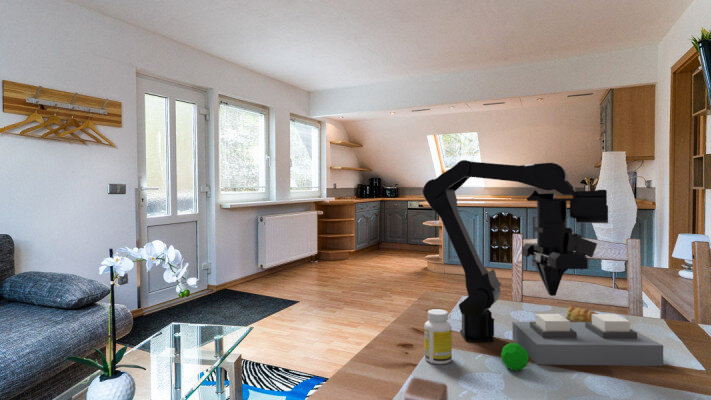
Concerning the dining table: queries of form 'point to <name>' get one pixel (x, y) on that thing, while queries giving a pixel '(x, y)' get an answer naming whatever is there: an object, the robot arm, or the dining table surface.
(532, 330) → the panel
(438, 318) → the supplement bottle
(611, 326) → the button
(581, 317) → the pastry
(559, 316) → the button
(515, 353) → the polyhedron
